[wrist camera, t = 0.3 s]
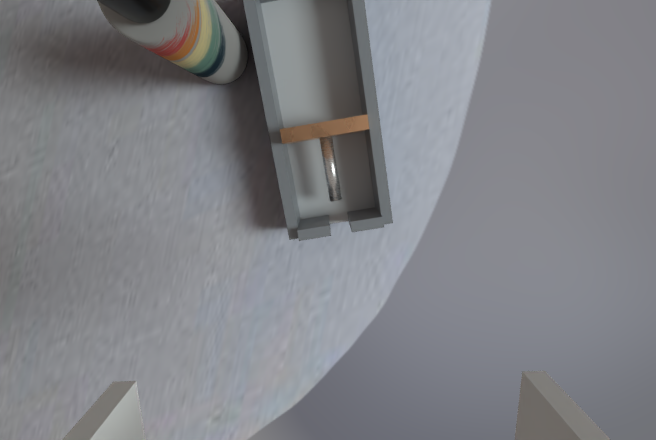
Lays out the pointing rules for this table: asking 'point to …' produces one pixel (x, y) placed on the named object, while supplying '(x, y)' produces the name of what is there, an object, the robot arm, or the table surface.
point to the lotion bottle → (183, 34)
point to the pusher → (327, 144)
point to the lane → (320, 110)
